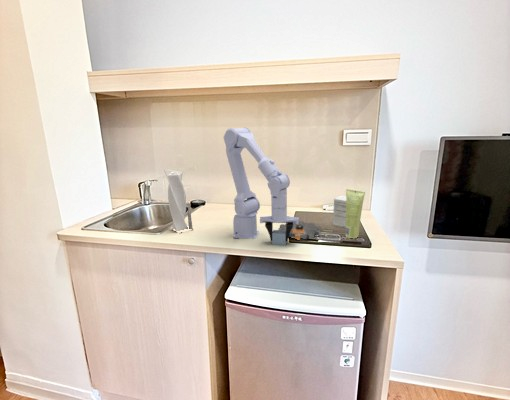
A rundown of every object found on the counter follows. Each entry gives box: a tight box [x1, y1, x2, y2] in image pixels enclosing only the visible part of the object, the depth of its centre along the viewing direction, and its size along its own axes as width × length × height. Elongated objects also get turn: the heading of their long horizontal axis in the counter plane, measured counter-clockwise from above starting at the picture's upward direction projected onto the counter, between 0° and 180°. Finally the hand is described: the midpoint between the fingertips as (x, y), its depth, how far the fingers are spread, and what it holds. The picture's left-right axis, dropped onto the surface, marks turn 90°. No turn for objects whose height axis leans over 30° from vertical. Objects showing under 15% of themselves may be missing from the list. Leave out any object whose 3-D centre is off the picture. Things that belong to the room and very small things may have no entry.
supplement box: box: [332, 195, 346, 228], centre depth 124 cm, size 7×7×13 cm
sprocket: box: [277, 220, 322, 241], centre depth 117 cm, size 18×18×6 cm
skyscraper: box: [164, 169, 194, 231], centre depth 122 cm, size 8×8×28 cm
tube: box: [344, 188, 366, 238], centre depth 109 cm, size 6×5×20 cm
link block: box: [271, 229, 287, 246], centre depth 107 cm, size 5×4×5 cm
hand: (279, 240), depth 107 cm, fingers closed on link block, 5 cm apart
